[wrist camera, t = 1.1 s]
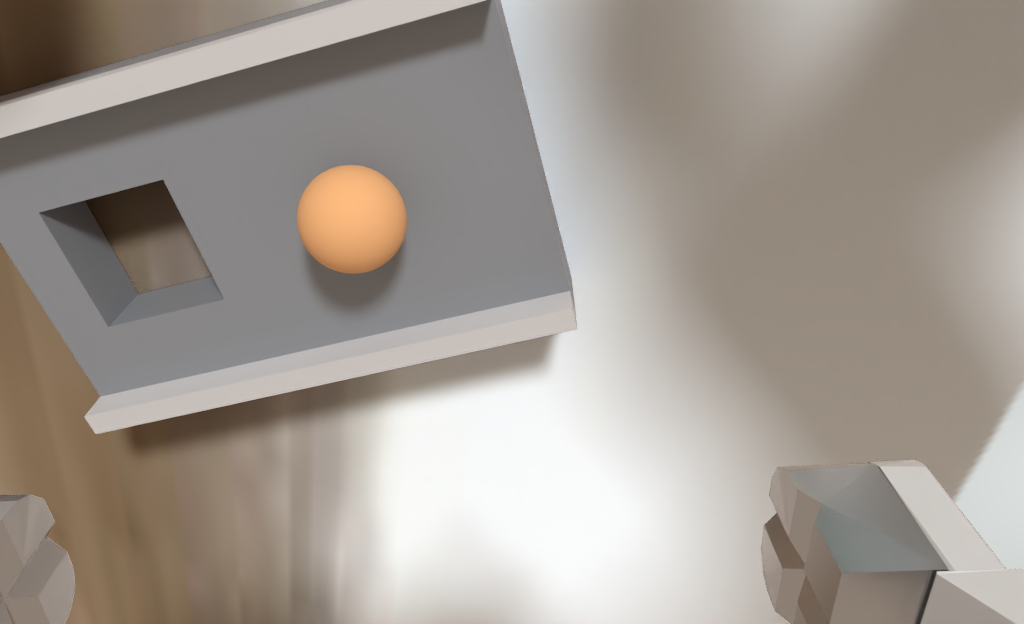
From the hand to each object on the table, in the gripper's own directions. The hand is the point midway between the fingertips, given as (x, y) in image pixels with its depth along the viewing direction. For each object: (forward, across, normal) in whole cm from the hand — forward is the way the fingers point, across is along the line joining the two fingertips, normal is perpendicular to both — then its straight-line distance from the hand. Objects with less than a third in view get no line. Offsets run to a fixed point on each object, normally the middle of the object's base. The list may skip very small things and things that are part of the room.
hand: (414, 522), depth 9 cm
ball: (+20, +4, +4) cm, 21 cm away
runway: (+26, +8, +5) cm, 27 cm away
